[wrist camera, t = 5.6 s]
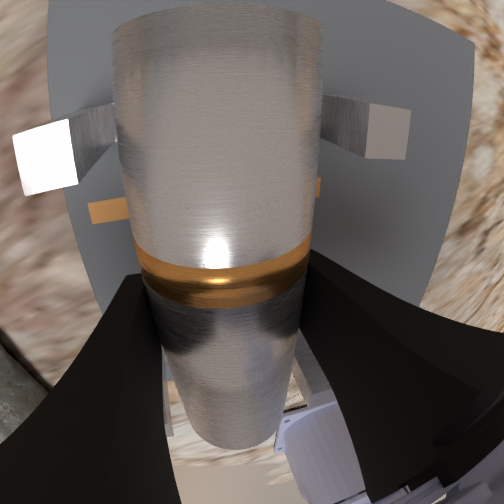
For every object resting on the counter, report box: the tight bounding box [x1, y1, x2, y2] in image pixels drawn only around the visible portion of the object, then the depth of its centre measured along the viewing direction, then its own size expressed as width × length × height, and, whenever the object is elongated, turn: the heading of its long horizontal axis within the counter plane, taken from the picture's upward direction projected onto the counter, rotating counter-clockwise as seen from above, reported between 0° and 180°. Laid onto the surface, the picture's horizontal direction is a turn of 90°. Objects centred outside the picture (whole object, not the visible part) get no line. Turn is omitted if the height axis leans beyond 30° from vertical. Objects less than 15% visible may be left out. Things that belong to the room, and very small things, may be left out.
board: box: [47, 0, 475, 381], centre depth 12 cm, size 18×18×1 cm
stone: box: [0, 344, 49, 442], centre depth 12 cm, size 11×4×15 cm
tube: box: [111, 3, 324, 450], centre depth 9 cm, size 14×4×4 cm, turn 0°
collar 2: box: [161, 328, 335, 437], centre depth 12 cm, size 1×8×4 cm, turn 90°
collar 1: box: [13, 93, 411, 196], centre depth 7 cm, size 1×8×4 cm, turn 90°
